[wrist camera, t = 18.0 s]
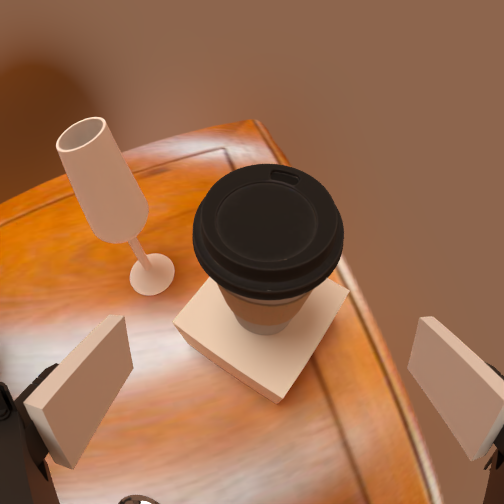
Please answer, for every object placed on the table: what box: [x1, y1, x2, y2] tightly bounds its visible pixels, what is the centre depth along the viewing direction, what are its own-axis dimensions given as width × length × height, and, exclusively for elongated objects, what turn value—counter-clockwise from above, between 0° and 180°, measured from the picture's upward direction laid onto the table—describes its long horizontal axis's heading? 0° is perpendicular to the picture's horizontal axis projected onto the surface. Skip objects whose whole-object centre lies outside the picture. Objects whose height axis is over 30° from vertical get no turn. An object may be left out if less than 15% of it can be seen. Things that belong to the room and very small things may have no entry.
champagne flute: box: [56, 117, 175, 296], centre depth 31 cm, size 7×7×24 cm
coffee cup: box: [193, 164, 344, 335], centre depth 24 cm, size 9×9×15 cm
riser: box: [172, 277, 349, 404], centre depth 34 cm, size 13×13×8 cm
